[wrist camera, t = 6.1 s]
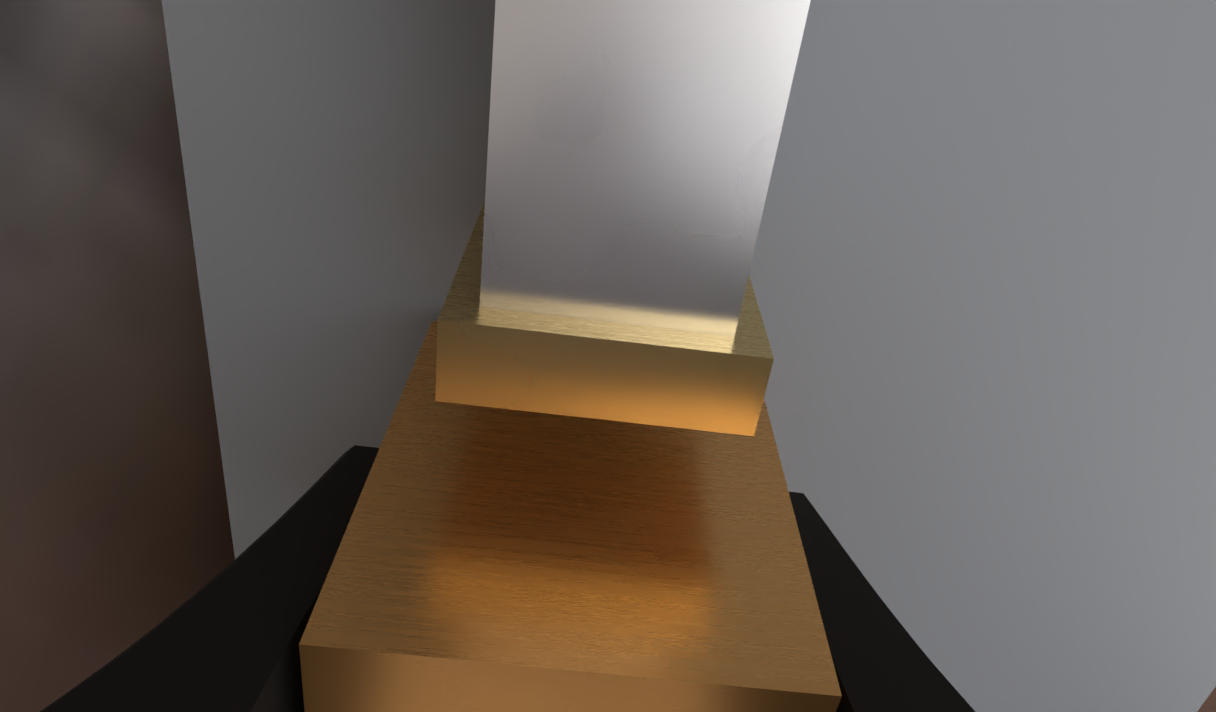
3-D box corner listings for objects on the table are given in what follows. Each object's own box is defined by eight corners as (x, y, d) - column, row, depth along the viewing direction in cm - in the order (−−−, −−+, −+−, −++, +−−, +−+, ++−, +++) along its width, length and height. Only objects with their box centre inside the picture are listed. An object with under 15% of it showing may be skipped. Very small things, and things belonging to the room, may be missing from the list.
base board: (1852, -457, 8) (2083, -515, 7) (1018, 848, 19) (1046, 920, 18) (145, -750, 7) (47, -875, 6) (298, 785, 19) (274, 855, 17)
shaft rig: (906, -533, 7) (1120, -824, 4) (605, 861, 17) (601, 1076, 14) (206, -650, 7) (-138, -1061, 4) (322, 836, 17) (257, 1051, 14)
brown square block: (697, 589, 13) (737, 966, 8) (426, 561, 13) (322, 934, 8) (753, 357, 11) (843, 696, 6) (431, 320, 11) (298, 644, 6)
